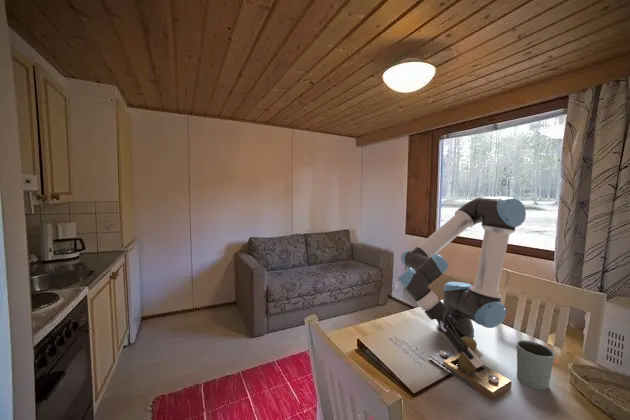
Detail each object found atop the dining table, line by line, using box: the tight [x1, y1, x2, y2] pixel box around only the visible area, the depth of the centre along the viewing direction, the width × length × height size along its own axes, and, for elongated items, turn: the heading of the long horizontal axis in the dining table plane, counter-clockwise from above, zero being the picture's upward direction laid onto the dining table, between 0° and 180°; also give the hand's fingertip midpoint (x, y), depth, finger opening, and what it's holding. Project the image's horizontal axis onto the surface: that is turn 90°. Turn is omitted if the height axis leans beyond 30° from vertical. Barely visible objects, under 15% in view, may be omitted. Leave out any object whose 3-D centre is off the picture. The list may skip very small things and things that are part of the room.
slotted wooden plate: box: [428, 348, 512, 402], centre depth 95 cm, size 23×11×4 cm, turn 28°
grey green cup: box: [516, 340, 556, 391], centre depth 91 cm, size 10×10×12 cm
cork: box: [457, 337, 478, 375], centre depth 95 cm, size 6×6×11 cm
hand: (479, 361), depth 93 cm, fingers closed on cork, 5 cm apart
